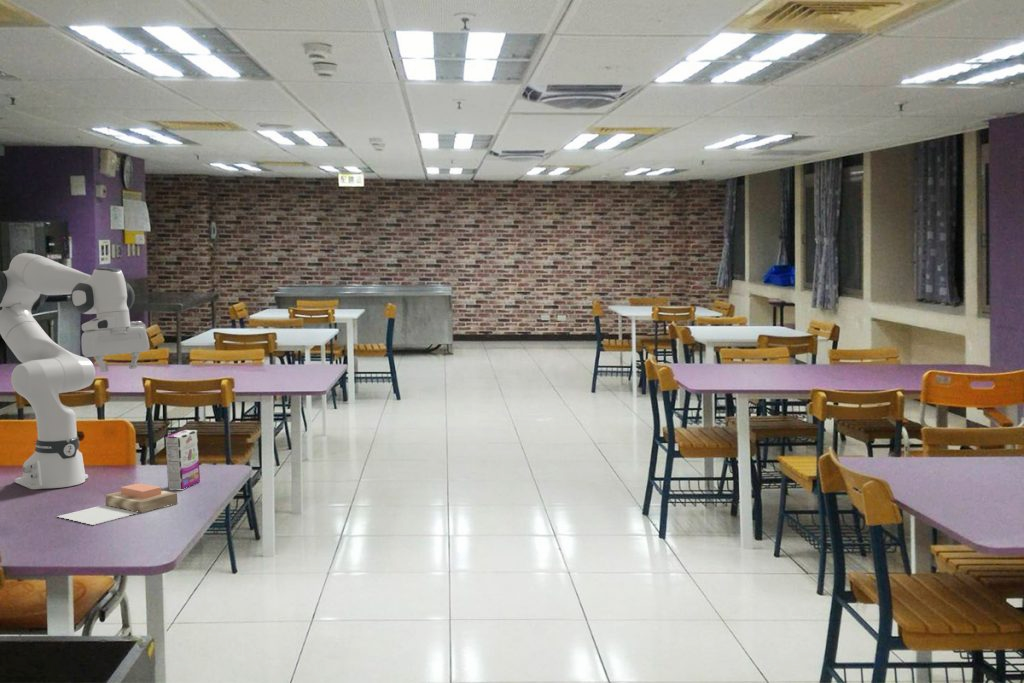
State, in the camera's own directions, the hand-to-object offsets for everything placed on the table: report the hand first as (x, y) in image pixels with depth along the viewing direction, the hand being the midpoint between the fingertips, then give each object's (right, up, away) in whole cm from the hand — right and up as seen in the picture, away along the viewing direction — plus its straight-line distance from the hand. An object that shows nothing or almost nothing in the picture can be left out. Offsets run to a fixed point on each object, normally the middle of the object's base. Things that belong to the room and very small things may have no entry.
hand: (119, 370), depth 302 cm
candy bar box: (+14, -36, +15) cm, 41 cm away
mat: (+1, -39, -19) cm, 43 cm away
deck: (+9, -38, -7) cm, 40 cm away
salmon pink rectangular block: (+9, -35, -7) cm, 37 cm away
